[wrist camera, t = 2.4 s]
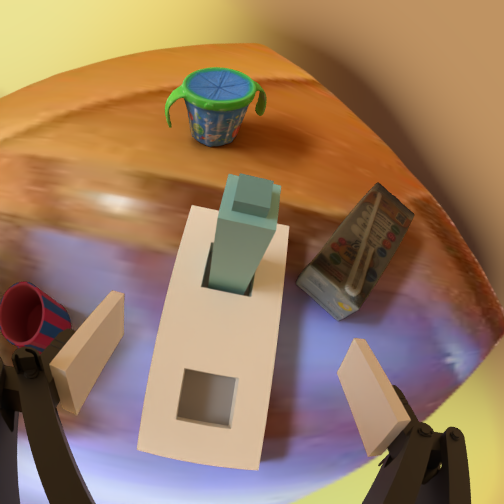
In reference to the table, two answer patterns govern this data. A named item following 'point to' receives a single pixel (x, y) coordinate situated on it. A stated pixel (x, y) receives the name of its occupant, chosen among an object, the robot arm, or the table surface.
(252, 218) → the plug
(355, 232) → the beverage carton
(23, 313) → the cup
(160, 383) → the socket panel
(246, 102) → the sippy cup
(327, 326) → the table surface
